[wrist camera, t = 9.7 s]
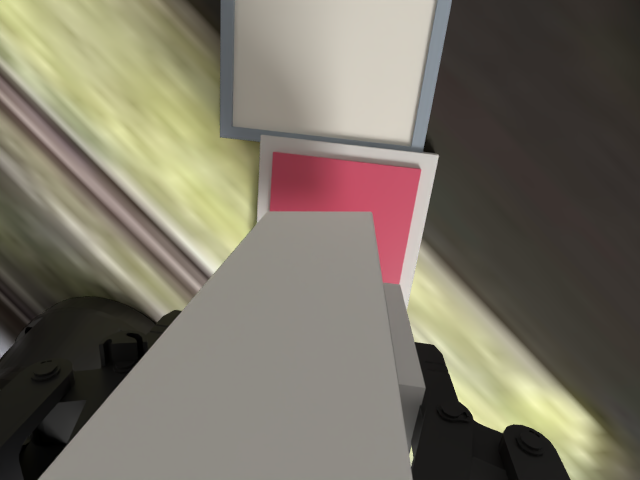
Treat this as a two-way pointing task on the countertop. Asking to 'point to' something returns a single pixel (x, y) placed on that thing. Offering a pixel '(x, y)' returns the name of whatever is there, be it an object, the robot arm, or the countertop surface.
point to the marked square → (331, 70)
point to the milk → (263, 370)
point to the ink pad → (353, 192)
